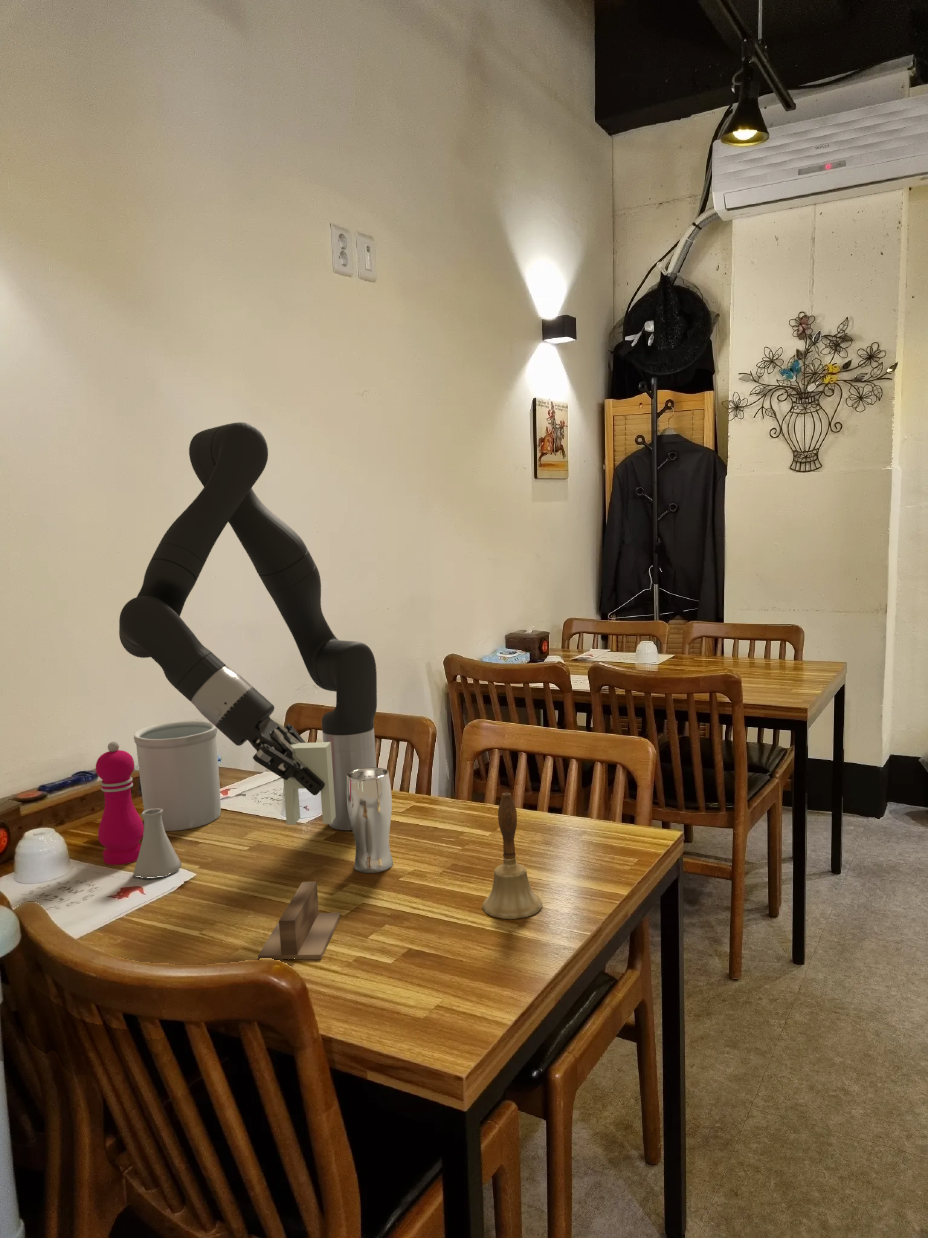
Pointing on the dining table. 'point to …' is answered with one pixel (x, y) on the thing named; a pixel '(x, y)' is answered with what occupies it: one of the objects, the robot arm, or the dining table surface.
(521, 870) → the hand bell
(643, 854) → the dining table surface
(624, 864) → the dining table surface
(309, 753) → the pale slotted block
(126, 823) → the pepper mill
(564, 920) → the dining table surface
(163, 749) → the utensil holder
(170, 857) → the flask
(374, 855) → the beer glass
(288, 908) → the walnut rail
